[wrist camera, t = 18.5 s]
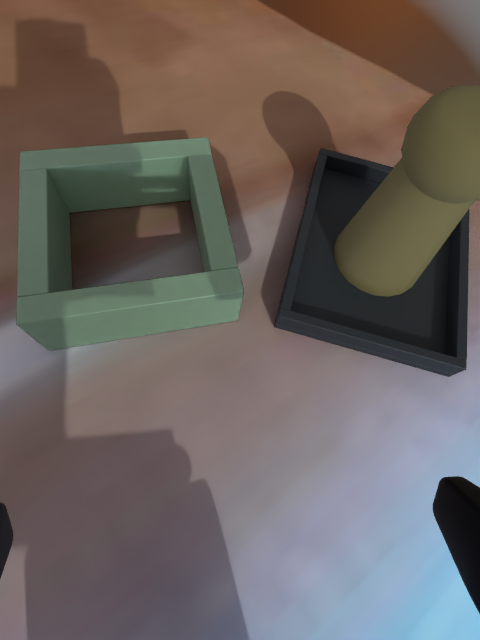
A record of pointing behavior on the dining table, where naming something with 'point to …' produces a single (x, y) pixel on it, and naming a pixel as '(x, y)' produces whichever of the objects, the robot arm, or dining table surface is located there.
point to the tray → (361, 307)
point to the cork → (416, 197)
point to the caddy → (106, 193)
